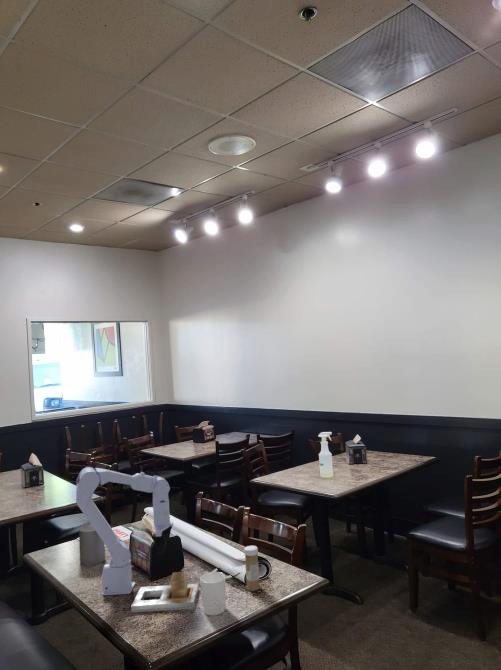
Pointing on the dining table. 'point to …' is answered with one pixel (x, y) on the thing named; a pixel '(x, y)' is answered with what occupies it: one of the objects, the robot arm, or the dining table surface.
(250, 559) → the sprinkles bottle
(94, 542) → the pillar candle
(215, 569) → the pliers
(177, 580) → the peg
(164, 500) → the robot arm
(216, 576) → the white cup
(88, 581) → the dining table surface
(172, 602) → the socket board
